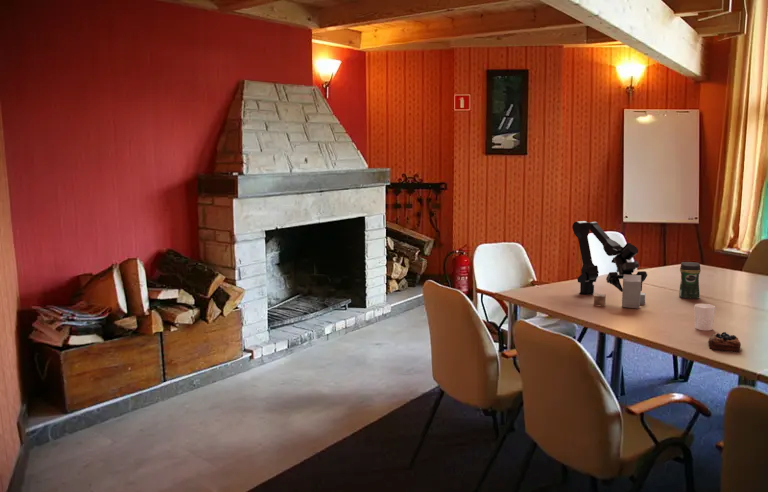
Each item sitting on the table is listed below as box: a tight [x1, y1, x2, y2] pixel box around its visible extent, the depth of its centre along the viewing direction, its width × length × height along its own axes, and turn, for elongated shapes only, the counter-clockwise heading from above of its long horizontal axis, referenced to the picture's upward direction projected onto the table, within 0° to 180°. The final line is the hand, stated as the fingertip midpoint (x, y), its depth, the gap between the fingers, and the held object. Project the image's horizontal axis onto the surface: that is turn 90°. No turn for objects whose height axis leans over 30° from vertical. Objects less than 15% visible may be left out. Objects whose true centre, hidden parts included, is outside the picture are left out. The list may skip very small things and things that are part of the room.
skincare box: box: [621, 274, 642, 309], centre depth 303 cm, size 8×7×16 cm
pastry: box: [707, 331, 742, 353], centre depth 242 cm, size 11×12×6 cm
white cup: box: [693, 303, 716, 332], centre depth 267 cm, size 8×8×10 cm
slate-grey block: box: [640, 292, 646, 306], centre depth 314 cm, size 5×5×5 cm
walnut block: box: [593, 293, 606, 307], centre depth 312 cm, size 5×5×5 cm
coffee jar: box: [678, 261, 702, 300], centre depth 323 cm, size 10×8×19 cm
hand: (631, 291), depth 304 cm, fingers closed on skincare box, 9 cm apart
